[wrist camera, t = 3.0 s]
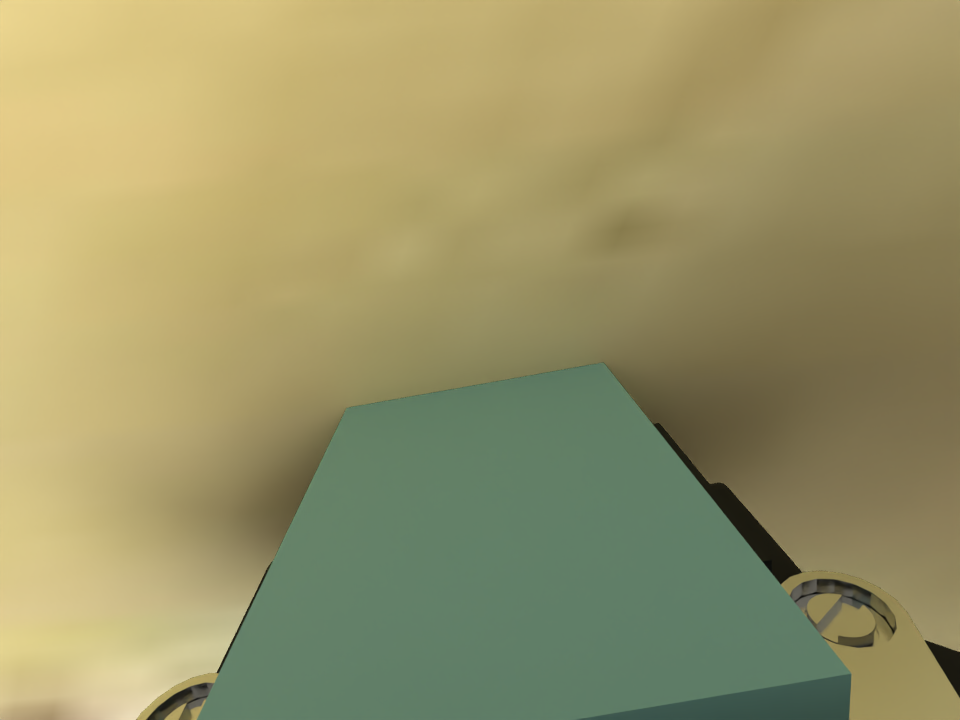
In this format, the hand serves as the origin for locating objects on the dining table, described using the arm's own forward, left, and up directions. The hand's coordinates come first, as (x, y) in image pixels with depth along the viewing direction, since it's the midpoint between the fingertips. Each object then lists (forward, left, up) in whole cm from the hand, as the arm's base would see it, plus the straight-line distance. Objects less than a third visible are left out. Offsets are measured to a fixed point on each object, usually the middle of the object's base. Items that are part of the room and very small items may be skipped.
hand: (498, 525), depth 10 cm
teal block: (0, 0, -1) cm, 1 cm away
